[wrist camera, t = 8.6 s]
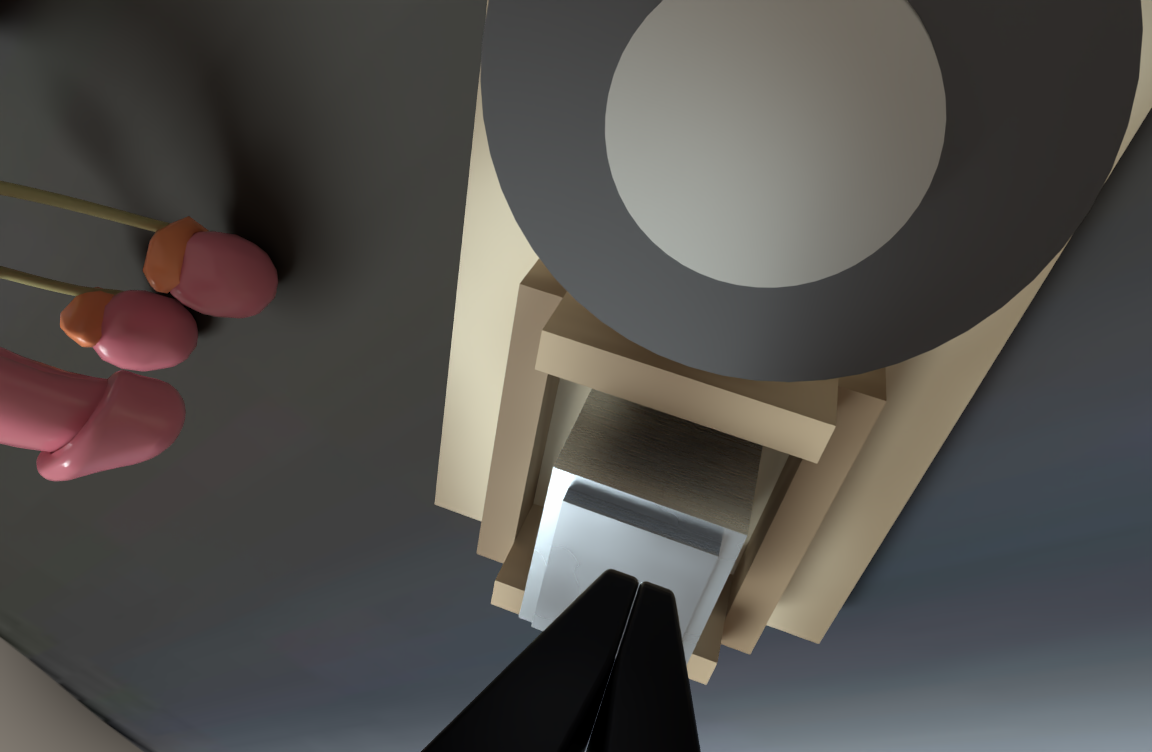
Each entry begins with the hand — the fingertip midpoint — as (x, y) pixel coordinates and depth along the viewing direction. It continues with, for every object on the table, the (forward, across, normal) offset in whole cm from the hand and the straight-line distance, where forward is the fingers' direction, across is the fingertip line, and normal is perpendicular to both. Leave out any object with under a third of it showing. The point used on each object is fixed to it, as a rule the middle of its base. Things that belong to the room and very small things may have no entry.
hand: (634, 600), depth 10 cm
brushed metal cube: (+10, 0, +6) cm, 11 cm away
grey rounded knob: (+7, 0, -5) cm, 9 cm away
